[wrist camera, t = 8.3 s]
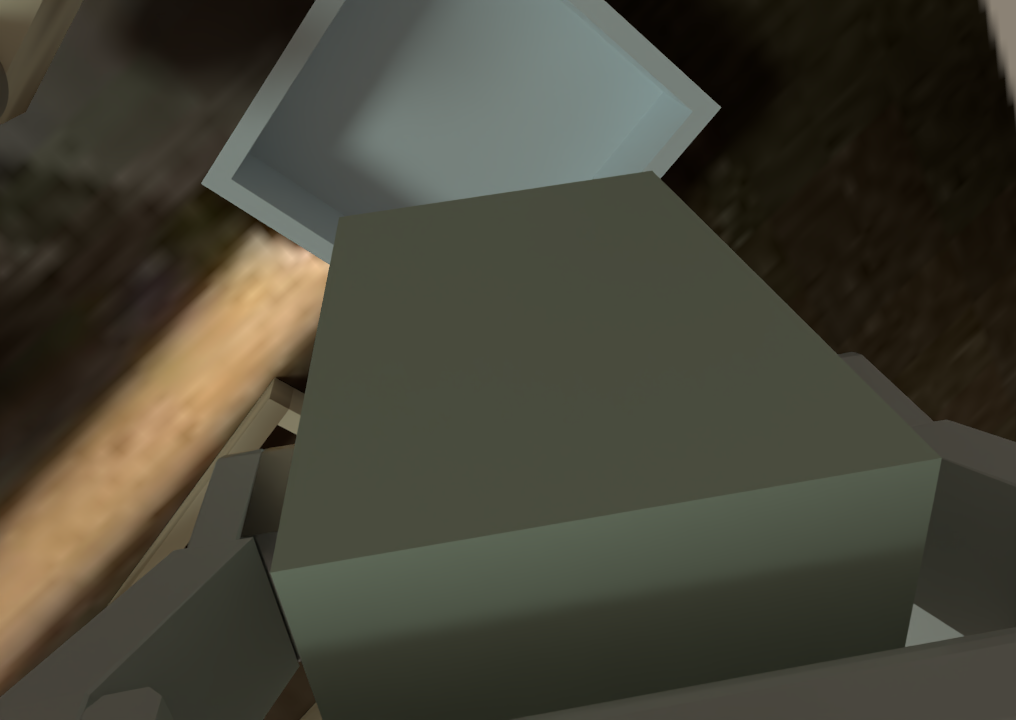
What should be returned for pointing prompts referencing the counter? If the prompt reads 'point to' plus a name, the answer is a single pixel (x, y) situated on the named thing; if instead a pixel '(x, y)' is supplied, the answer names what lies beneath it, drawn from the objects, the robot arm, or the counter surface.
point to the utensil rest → (268, 412)
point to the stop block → (580, 466)
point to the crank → (29, 47)
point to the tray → (450, 109)
